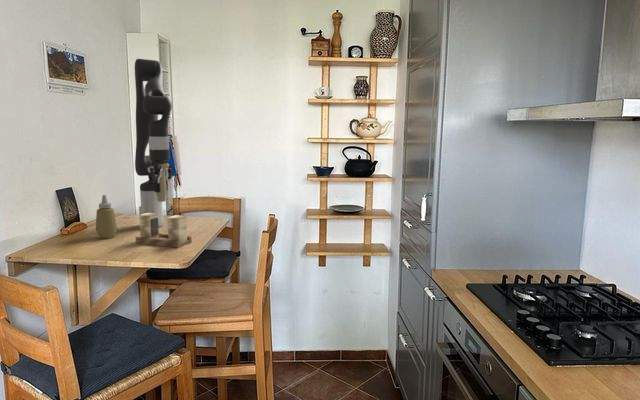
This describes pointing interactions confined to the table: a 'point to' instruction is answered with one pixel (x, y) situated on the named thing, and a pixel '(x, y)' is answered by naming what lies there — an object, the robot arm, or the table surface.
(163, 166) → the beige tall post
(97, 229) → the squeeze bottle
